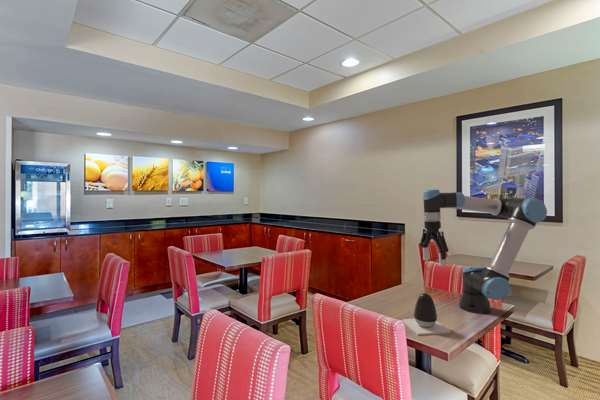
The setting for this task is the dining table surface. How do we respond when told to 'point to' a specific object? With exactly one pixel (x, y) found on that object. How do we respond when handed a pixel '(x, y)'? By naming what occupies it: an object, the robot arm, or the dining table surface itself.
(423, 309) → the pump dispenser
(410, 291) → the dining table surface
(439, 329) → the ceramic tile
